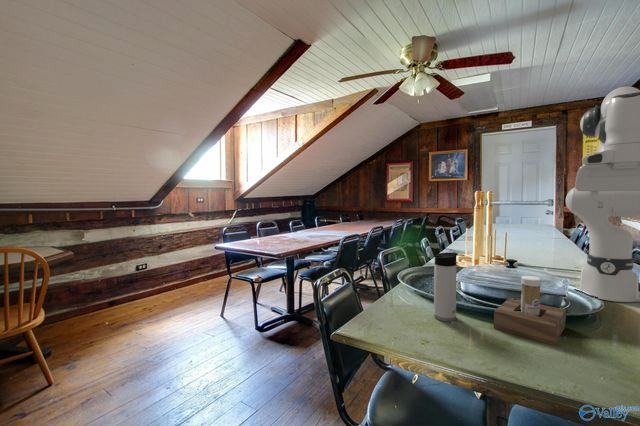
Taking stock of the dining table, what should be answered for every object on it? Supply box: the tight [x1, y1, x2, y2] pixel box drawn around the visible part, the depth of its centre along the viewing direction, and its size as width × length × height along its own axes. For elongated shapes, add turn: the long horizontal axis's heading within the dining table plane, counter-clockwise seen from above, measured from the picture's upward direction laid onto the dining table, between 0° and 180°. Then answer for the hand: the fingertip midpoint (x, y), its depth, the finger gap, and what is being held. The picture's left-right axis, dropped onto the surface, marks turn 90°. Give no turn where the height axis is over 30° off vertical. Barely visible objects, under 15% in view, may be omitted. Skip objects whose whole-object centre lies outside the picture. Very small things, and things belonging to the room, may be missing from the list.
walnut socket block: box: [493, 298, 567, 346], centre depth 89 cm, size 14×14×5 cm
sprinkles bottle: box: [520, 275, 542, 317], centre depth 89 cm, size 5×5×13 cm
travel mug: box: [433, 252, 459, 322], centre depth 97 cm, size 6×7×20 cm
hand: (622, 208), depth 85 cm, fingers open, 8 cm apart
